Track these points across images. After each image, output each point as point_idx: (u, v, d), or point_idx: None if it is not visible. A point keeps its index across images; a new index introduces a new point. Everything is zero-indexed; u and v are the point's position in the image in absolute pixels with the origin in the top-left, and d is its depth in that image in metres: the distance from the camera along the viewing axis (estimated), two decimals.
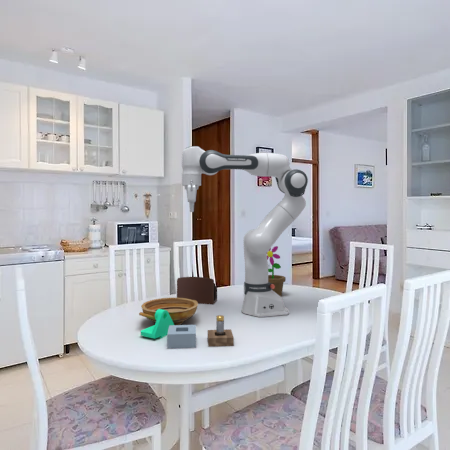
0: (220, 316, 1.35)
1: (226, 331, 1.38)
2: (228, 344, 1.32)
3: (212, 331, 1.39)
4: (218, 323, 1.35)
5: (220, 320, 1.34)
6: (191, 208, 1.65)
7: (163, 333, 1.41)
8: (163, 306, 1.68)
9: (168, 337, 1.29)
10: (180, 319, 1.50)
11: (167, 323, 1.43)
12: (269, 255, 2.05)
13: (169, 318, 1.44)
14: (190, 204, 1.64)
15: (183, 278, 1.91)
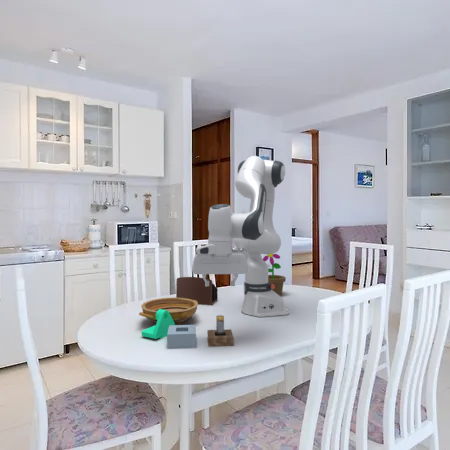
0: (220, 316, 1.35)
1: (226, 331, 1.38)
2: (228, 344, 1.32)
3: (212, 331, 1.39)
4: (218, 323, 1.35)
5: (220, 320, 1.34)
6: None
7: (164, 333, 1.41)
8: (163, 306, 1.68)
9: (168, 337, 1.29)
10: (180, 319, 1.50)
11: (168, 323, 1.43)
12: (269, 255, 2.05)
13: (170, 318, 1.44)
14: (237, 276, 1.35)
15: (182, 278, 1.91)
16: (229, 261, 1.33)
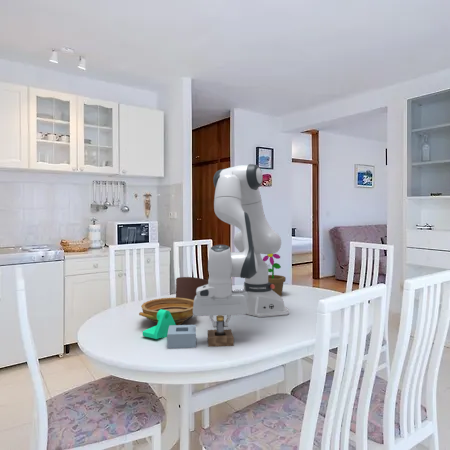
0: (220, 316, 1.35)
1: (226, 331, 1.38)
2: (228, 344, 1.32)
3: (212, 331, 1.39)
4: (218, 323, 1.35)
5: (220, 320, 1.34)
6: None
7: (165, 333, 1.41)
8: (163, 306, 1.68)
9: (168, 337, 1.29)
10: (180, 319, 1.50)
11: (169, 323, 1.43)
12: (269, 255, 2.05)
13: (171, 318, 1.44)
14: (230, 317, 1.35)
15: (181, 278, 1.91)
16: (229, 303, 1.34)
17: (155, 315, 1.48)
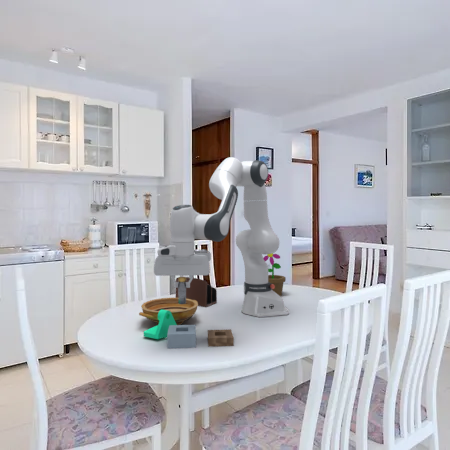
0: (182, 277, 1.33)
1: (226, 331, 1.38)
2: (228, 344, 1.32)
3: (212, 331, 1.39)
4: (179, 284, 1.33)
5: (182, 281, 1.32)
6: None
7: (166, 333, 1.40)
8: (163, 306, 1.68)
9: (168, 337, 1.29)
10: (180, 319, 1.50)
11: (170, 323, 1.43)
12: (269, 255, 2.05)
13: (172, 318, 1.44)
14: (192, 278, 1.33)
15: None
16: (191, 263, 1.32)
17: (155, 315, 1.48)
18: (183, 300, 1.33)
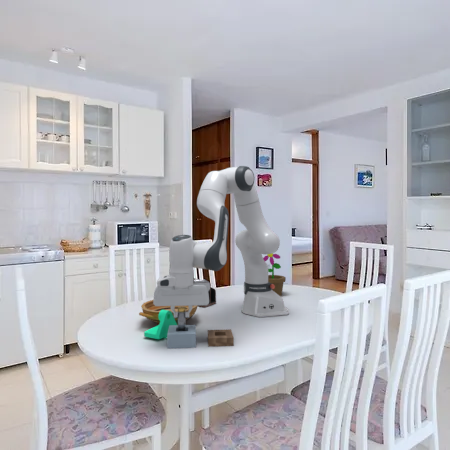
0: (181, 307, 1.34)
1: (226, 331, 1.38)
2: (228, 344, 1.32)
3: (212, 331, 1.39)
4: (179, 314, 1.33)
5: (181, 311, 1.33)
6: (189, 312, 1.35)
7: (167, 333, 1.40)
8: (163, 306, 1.68)
9: (168, 337, 1.29)
10: None
11: (171, 323, 1.43)
12: (269, 255, 2.05)
13: (172, 318, 1.44)
14: None
15: None
16: (190, 293, 1.33)
17: (155, 315, 1.48)
18: (182, 330, 1.33)
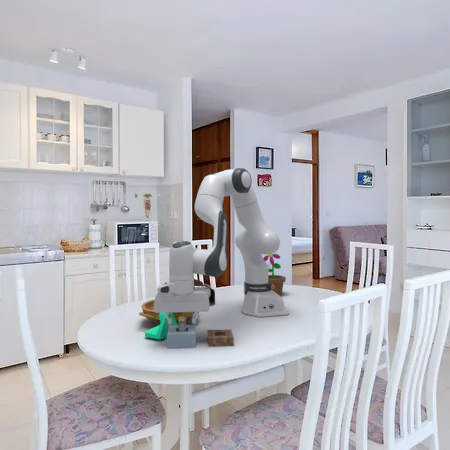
0: (182, 317, 1.34)
1: (226, 331, 1.38)
2: (228, 344, 1.32)
3: (212, 331, 1.39)
4: (179, 324, 1.33)
5: (182, 321, 1.33)
6: None
7: (167, 333, 1.40)
8: None
9: (168, 337, 1.29)
10: None
11: (172, 323, 1.43)
12: (269, 255, 2.05)
13: (173, 318, 1.43)
14: (198, 314, 1.34)
15: None
16: (190, 299, 1.33)
17: (155, 315, 1.48)
18: None
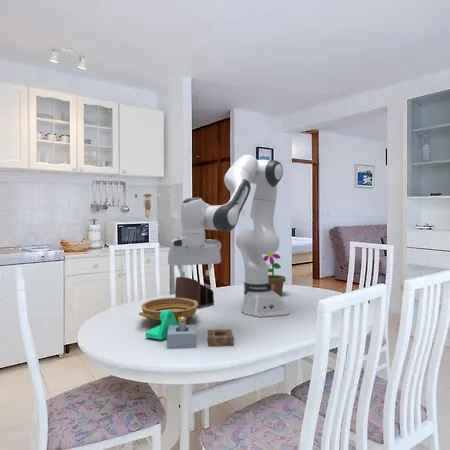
0: (182, 317, 1.34)
1: (226, 331, 1.38)
2: (228, 344, 1.32)
3: (212, 331, 1.39)
4: (179, 324, 1.33)
5: (182, 321, 1.33)
6: None
7: None
8: (163, 306, 1.68)
9: (168, 337, 1.29)
10: None
11: (172, 323, 1.43)
12: (269, 255, 2.05)
13: (174, 319, 1.43)
14: (211, 266, 1.41)
15: (179, 278, 1.92)
16: (203, 252, 1.39)
17: (155, 315, 1.48)
18: None
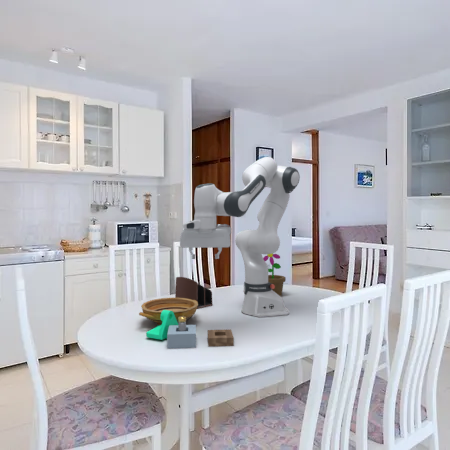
0: (182, 317, 1.34)
1: (226, 331, 1.38)
2: (228, 344, 1.32)
3: (212, 331, 1.39)
4: (179, 324, 1.33)
5: (182, 321, 1.33)
6: None
7: None
8: (163, 306, 1.68)
9: (168, 337, 1.29)
10: None
11: (173, 323, 1.43)
12: (269, 255, 2.05)
13: (174, 319, 1.43)
14: None
15: (179, 278, 1.92)
16: (213, 236, 1.46)
17: (155, 315, 1.48)
18: None
